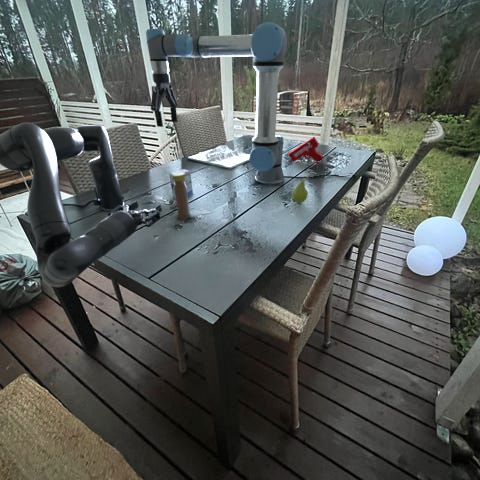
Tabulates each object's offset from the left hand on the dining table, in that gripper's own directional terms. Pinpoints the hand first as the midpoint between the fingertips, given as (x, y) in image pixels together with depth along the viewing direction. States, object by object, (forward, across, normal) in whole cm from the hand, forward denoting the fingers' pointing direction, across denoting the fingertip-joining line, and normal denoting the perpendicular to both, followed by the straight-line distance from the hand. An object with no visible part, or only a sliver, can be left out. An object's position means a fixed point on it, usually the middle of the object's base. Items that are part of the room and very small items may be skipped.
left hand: (148, 205), depth 85 cm
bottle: (+21, 0, +15) cm, 26 cm away
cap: (+21, 0, -3) cm, 21 cm away
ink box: (+40, +10, +14) cm, 43 cm away
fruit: (+48, -43, +15) cm, 67 cm away
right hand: (+59, +25, -14) cm, 66 cm away
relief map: (+103, +14, +14) cm, 105 cm away
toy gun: (+110, -40, +14) cm, 118 cm away
